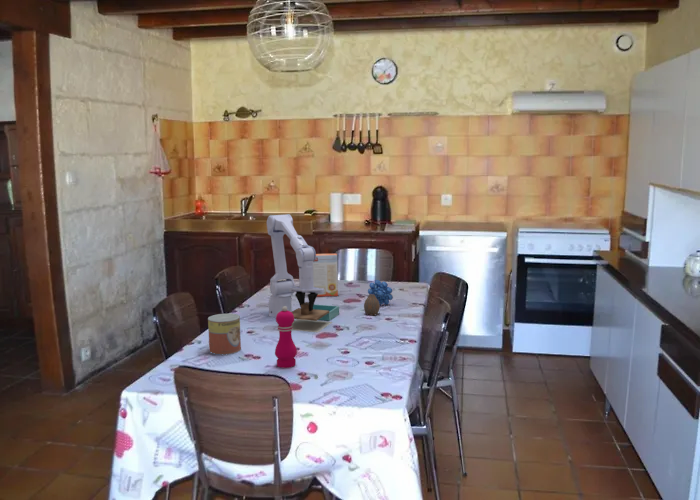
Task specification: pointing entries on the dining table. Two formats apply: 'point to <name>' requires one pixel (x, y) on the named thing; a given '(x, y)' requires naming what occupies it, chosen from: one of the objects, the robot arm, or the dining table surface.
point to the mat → (309, 325)
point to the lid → (308, 313)
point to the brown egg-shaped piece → (371, 305)
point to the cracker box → (326, 274)
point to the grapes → (381, 292)
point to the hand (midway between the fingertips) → (306, 310)
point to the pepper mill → (285, 340)
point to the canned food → (224, 333)
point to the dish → (332, 310)
